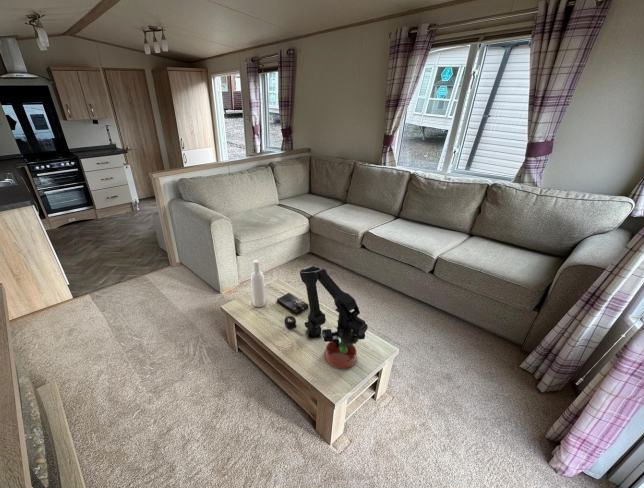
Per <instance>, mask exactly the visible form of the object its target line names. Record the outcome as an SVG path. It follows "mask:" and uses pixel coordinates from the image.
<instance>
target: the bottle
mask: <svg viewBox="0 0 644 488" xmlns="http://www.w3.org/2000/svg"><path fill="white" fill-rule="evenodd" d="M260 265H261V263H260V260H259V259H254V260H253V261H252V267H253V271H252V273H251V275H250V285H251V286H250V287H251V295H252V296H251V297H252V305H253V306H254V307H255V308H263V307H264V306H266V301H267V300H266V286H265V274H264V273H263V272H262V271H261V267H260Z"/></svg>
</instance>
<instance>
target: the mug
mask: <svg viewBox="0 0 644 488" xmlns="http://www.w3.org/2000/svg"><path fill="white" fill-rule="evenodd" d="M285 316H286V317H284V321H283V322H284V326H285V328H286V329H288V330H292V329H294V331H295V332H297V333H299V334H301V335H302V333H300V332H299V331H298V330H296V329H295V328H297V320H296V318H295V317H294V316H292V315H288V314H287V313H285Z"/></svg>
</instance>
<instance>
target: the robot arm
mask: <svg viewBox="0 0 644 488" xmlns="http://www.w3.org/2000/svg"><path fill="white" fill-rule="evenodd" d="M299 276H300V280H301V282H302V283H303V284H304V285H305V288H306V295H307V301H308V305H309V306H308V308H309V313H308V316H307V321H305V322H304V327H305V328H306V333H307V338H308V339H320V338H322V339H323V342H324V343H329V342H331V341H333V342H335V343H336V345H337V348H339V339H338V338H341V342H342V346H352V345H356V344H357V343H358V342H359V340H365V339H366V332H367V331H368V328H369V325H368V324H367V322H366V320H364V319H362V318H361V317H359V315H360V314H361V312H360V308H359V307H358V304H357V301H356V299H355V298H354V297H353V296H352V295H351V294H349V293H347V292H346V291H343V290H342V289H341V288H340V287H339V285H338V284H337V283H336V282H335V281H334V280H333V279H332V277H331V276H330V274H328V272H327V270H326V269H325V268H321V267H320V266H314V265H310V266H307V267H305V268H302V269H300V271H299ZM317 282H319V283H320V284H321V285H322V286H323V287H324V289H325V290H326V291H327V292H328V294H329V295H330V296H331V297H332V299H333V300H334V305H335V307H336V308H335V311H336V312H337V313H338V316H337V317H338V318H337V320H336V322H337V326H336V330H335V331H333V332H332V329H331V328H327V329H326V328H325V329H322V326H323V325H324V324H326V321H327V318H326V314H325V313H323V312H322V310H321V307H320V300H319V295H318V289H317ZM352 310H353V311H352Z"/></svg>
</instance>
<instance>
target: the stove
mask: <svg viewBox="0 0 644 488" xmlns="http://www.w3.org/2000/svg"><path fill="white" fill-rule="evenodd" d="M296 299H299V298H298V297H297V296H295V295H294V294H292V293H290V292H287V293H286V294H284V295H281V296H279V297H278V298H277V299H276V303H277V304H279V305H280V306H281V307H283V308H284V309H286V310H287V311H289V312H290V313H292V314H293V315H295V316H296V317H297V316H298V315H300V314H301V313H303V312H305V311H306V310H308V309H309V303H306V302H305V301H304V300H302V308H296Z"/></svg>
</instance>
